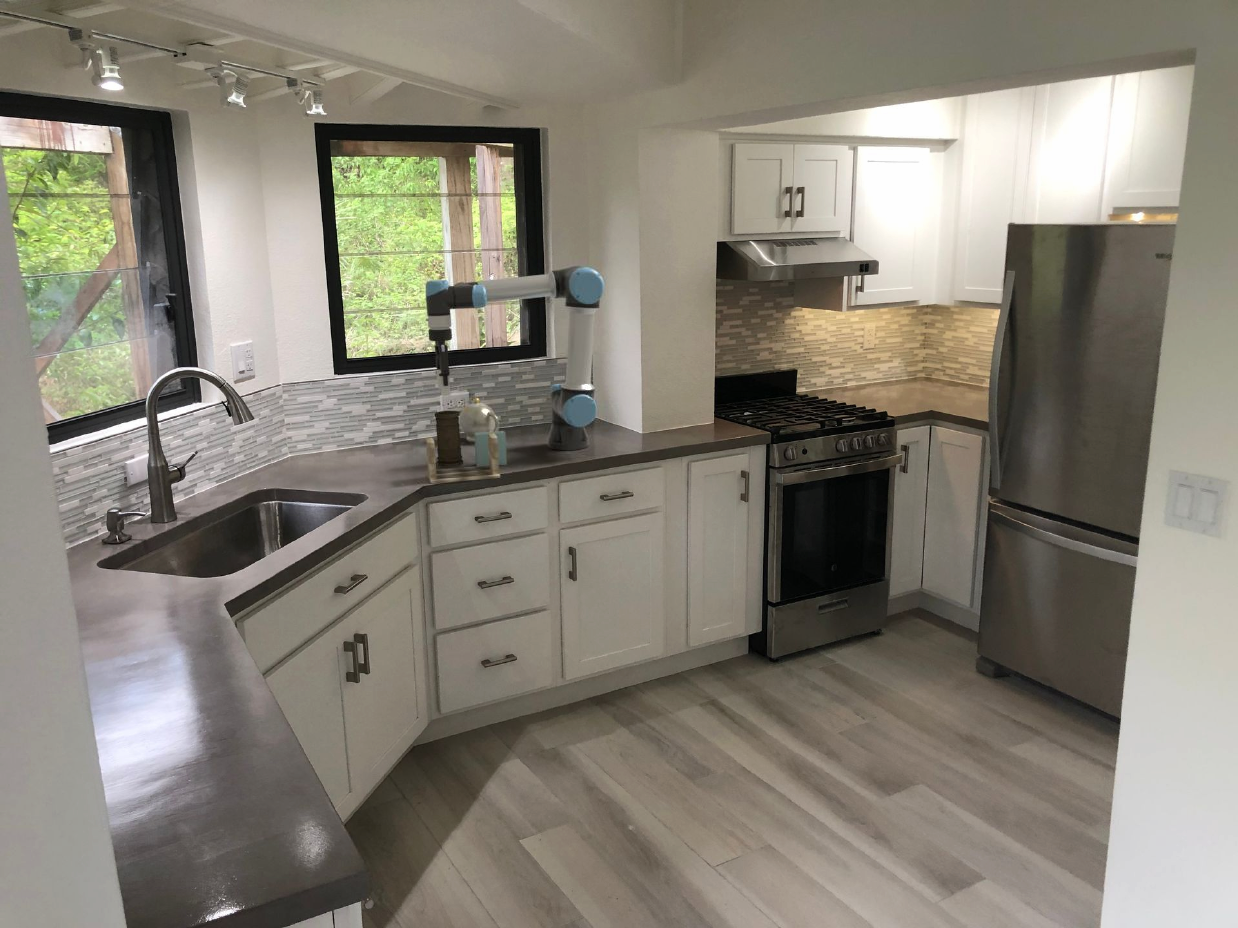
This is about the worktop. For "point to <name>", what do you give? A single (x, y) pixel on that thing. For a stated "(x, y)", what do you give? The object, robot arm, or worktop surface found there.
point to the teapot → (477, 419)
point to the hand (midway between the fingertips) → (444, 392)
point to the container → (448, 439)
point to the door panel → (483, 449)
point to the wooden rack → (466, 472)
